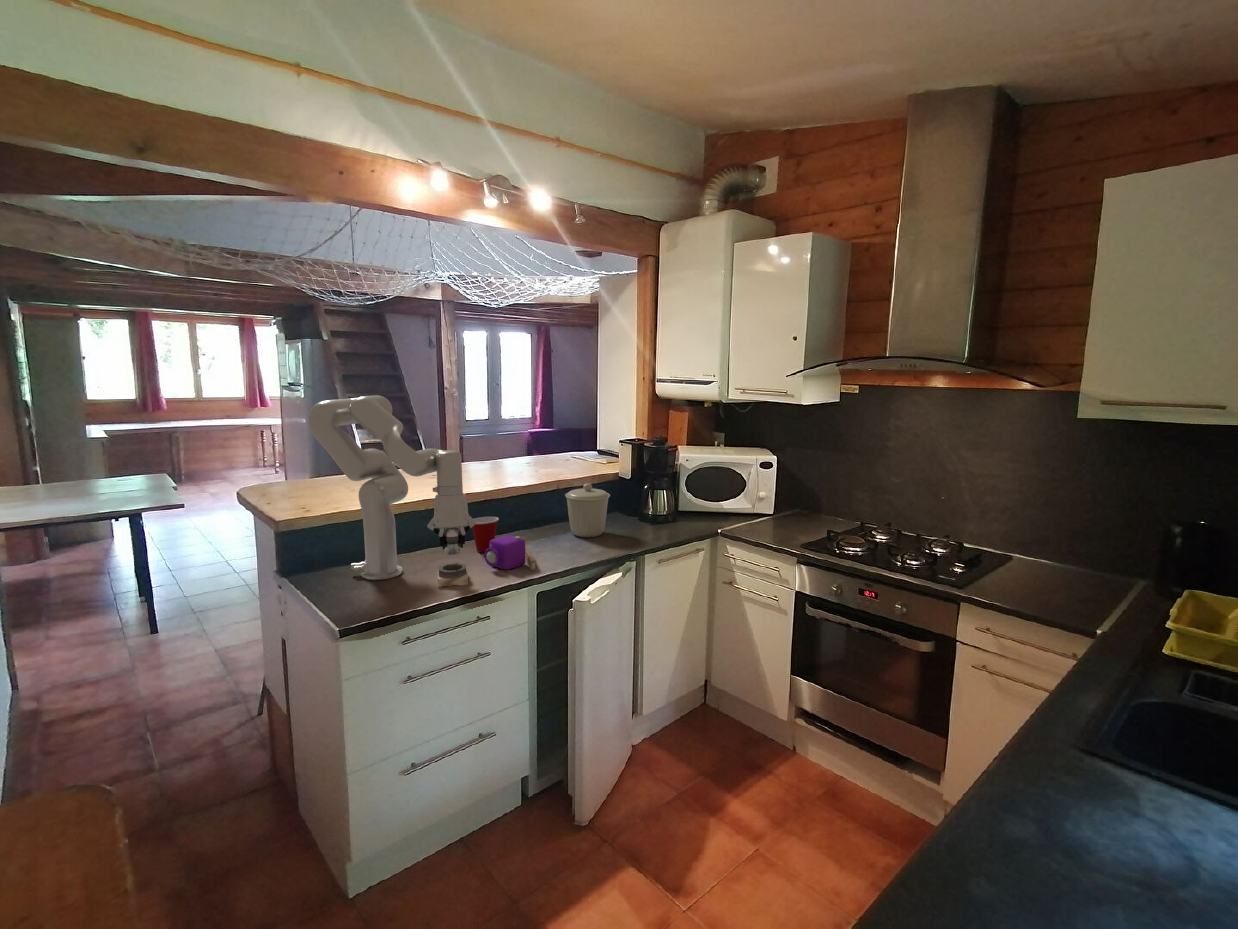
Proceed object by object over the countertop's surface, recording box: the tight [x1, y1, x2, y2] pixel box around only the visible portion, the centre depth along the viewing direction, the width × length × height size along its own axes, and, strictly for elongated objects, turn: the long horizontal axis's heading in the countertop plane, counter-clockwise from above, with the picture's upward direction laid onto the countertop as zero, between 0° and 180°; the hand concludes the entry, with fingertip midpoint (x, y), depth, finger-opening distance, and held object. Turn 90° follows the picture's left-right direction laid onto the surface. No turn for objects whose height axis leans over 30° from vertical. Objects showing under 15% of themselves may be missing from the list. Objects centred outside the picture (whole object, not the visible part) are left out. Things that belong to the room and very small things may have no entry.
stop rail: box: [525, 547, 536, 571], centre depth 210 cm, size 2×14×4 cm, turn 16°
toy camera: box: [484, 534, 526, 570], centre depth 206 cm, size 11×14×10 cm
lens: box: [444, 527, 461, 556], centre depth 190 cm, size 5×5×8 cm
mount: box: [437, 562, 469, 588], centre depth 192 cm, size 9×9×4 cm
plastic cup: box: [468, 516, 500, 553], centre depth 224 cm, size 11×11×12 cm
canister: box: [564, 483, 611, 538], centre depth 246 cm, size 18×18×21 cm
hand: (452, 546), depth 191 cm, fingers closed on lens, 4 cm apart
